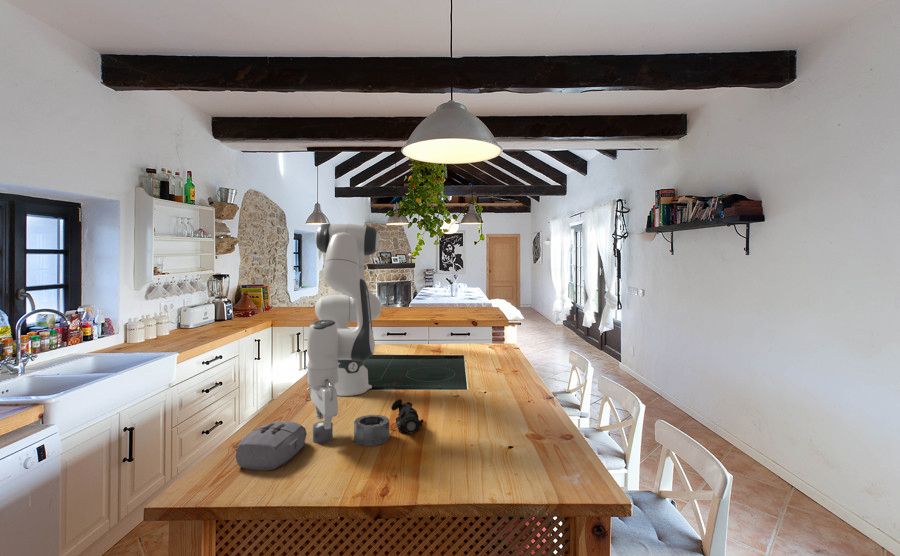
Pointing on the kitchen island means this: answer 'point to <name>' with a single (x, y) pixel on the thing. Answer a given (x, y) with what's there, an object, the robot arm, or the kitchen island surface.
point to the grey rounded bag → (270, 445)
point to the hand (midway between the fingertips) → (323, 423)
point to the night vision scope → (407, 417)
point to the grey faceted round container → (371, 430)
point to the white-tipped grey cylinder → (322, 433)
